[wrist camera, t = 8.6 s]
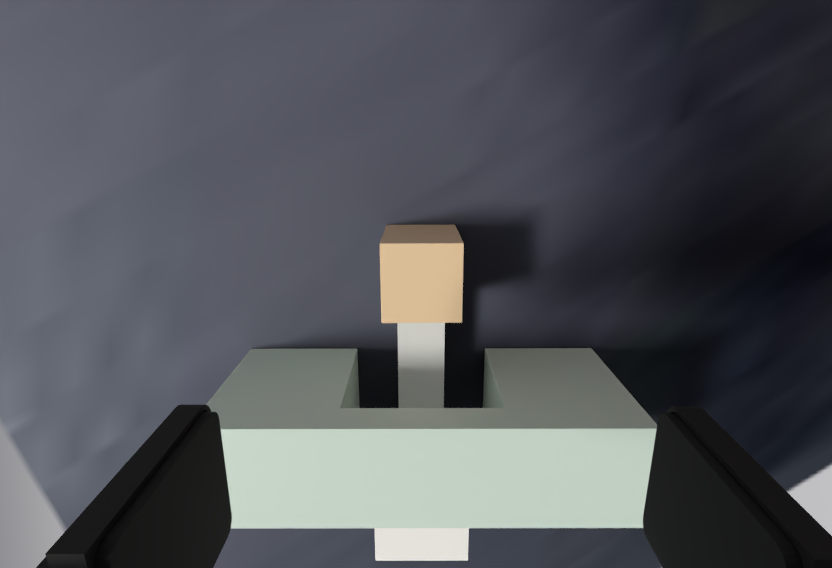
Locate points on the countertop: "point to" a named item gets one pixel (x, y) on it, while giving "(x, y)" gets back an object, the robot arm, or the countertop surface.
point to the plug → (421, 353)
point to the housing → (434, 446)
